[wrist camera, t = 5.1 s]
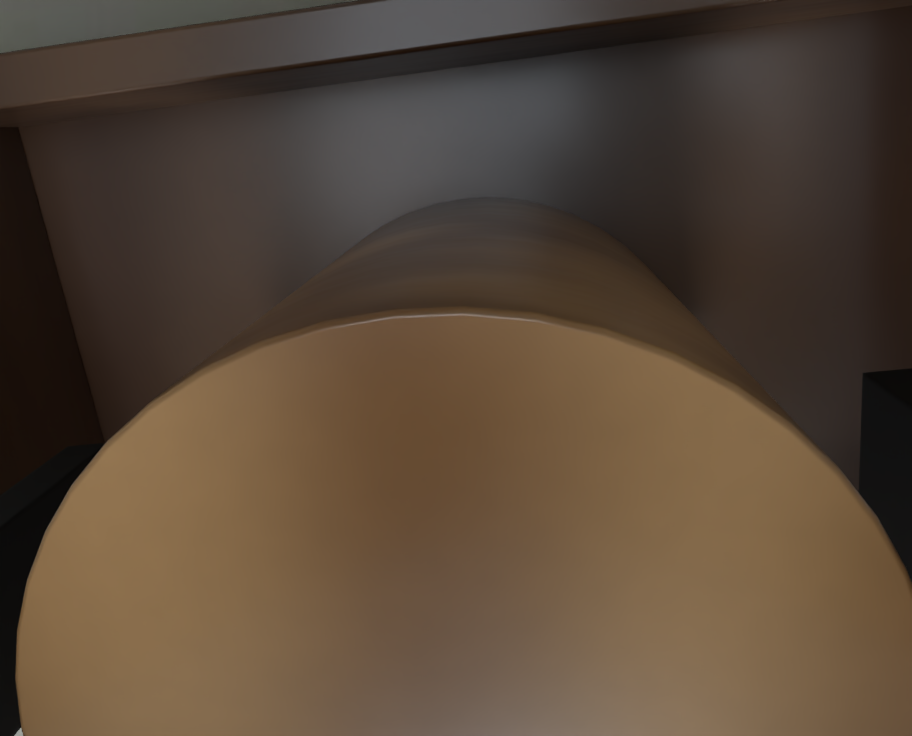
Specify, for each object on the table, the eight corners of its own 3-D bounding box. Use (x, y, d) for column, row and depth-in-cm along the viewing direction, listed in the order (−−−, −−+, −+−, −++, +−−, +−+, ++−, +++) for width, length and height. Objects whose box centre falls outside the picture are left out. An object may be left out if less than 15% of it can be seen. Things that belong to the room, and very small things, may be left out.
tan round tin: (688, 171, 15) (974, 248, 6) (701, 567, 18) (914, 1067, 8) (251, 223, 16) (-115, 364, 7) (325, 592, 19) (134, 1070, 9)
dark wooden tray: (974, -49, 14) (1162, -119, 10) (926, 664, 19) (1042, 816, 15) (-19, 92, 16) (-200, 81, 12) (155, 706, 21) (67, 849, 17)
